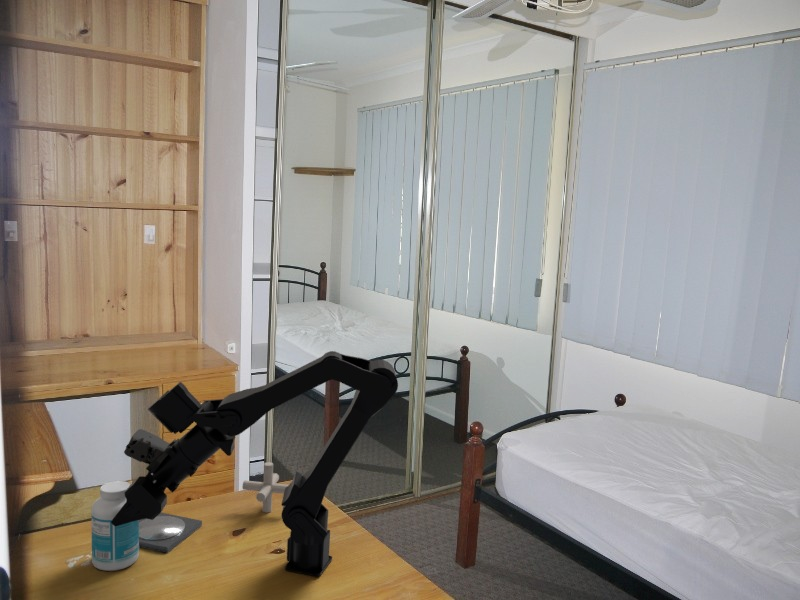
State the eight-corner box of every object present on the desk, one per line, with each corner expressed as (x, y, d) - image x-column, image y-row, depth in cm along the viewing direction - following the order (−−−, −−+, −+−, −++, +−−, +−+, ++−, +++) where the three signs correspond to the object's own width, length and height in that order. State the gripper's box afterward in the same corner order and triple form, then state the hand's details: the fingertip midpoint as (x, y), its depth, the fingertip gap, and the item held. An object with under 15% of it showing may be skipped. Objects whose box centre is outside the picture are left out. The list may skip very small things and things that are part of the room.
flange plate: (201, 525, 128) (202, 519, 128) (167, 553, 118) (167, 546, 118) (152, 515, 131) (152, 509, 131) (114, 541, 120) (114, 535, 120)
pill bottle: (138, 547, 119) (139, 475, 117) (138, 569, 112) (139, 493, 110) (92, 553, 116) (92, 479, 114) (89, 575, 109) (89, 497, 107)
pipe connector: (297, 502, 141) (299, 457, 139) (284, 524, 131) (286, 476, 129) (250, 497, 142) (252, 452, 140) (234, 519, 132) (236, 470, 130)
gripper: (171, 401, 120) (108, 457, 121) (139, 436, 102) (64, 502, 102) (214, 444, 122) (151, 499, 123) (190, 487, 104) (116, 551, 104)
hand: (122, 511), depth 113 cm, fingers open, 9 cm apart
